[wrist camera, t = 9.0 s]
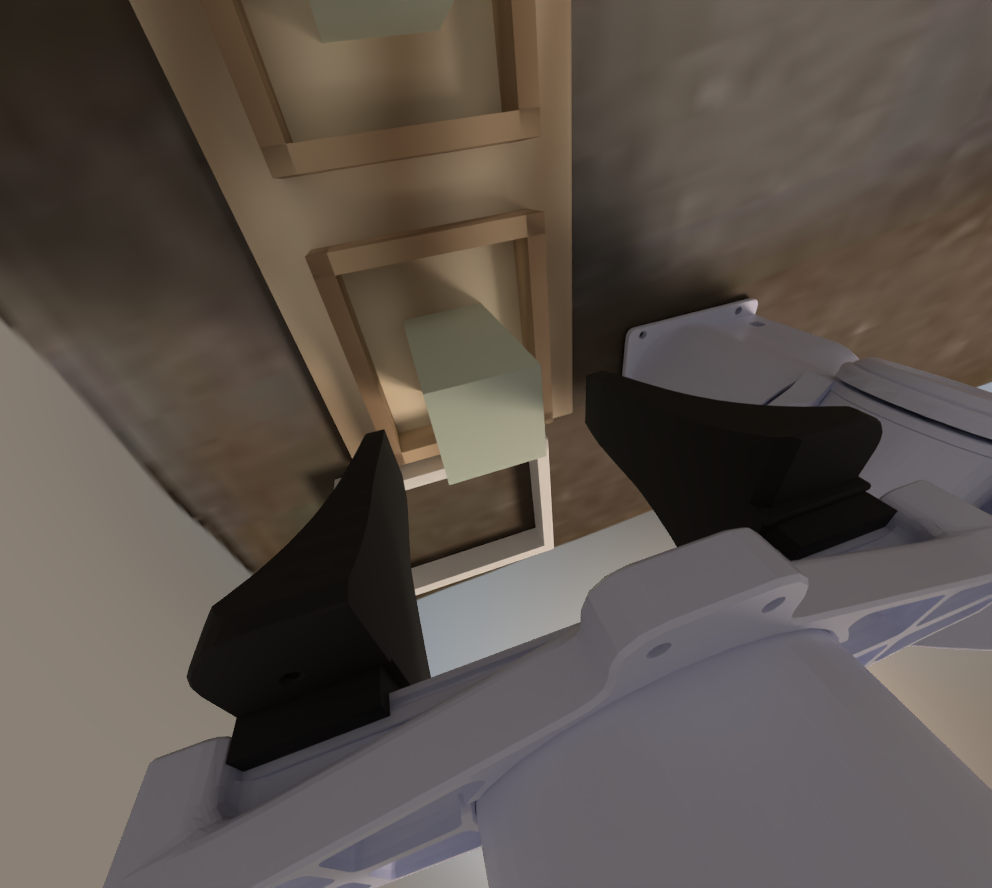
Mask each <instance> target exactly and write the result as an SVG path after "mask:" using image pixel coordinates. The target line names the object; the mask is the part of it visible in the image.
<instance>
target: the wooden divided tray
mask: <svg viewBox="0 0 992 888" xmlns="http://www.w3.org/2000/svg"><path fill="white" fill-rule="evenodd" d="M129 1H130V3H131V5H132V8H133V10H134V12H135V14H136V16H137V18H138V20H139V22H140V24H141V26H142V28H143V30H144V32H145V34H146V36H147V38H148V40H149V42H150V44H151V47H152V49H153V51H154V53H155V55H156V57H157V59H158V61H159V63H160V65H161V67H162V69H163V71H164V73H165V75H166V77H167V79H168V81H169V83H170V86H171V88H172V90H173V92H174V94H175V96H176V98H177V100H178V102H179V104H180V106H181V108H182V110H183V112H184V114H185V116H186V118H187V120H188V122H189V125H190V127H191V129H192V131H193V133H194V135H195V137H196V139H197V141H198V143H199V145H200V147H201V149H202V151H203V153H204V155H205V157H206V159H207V161H208V164H209V166H210V168H211V170H212V172H213V174H214V176H215V178H216V180H217V182H218V184H219V186H220V188H221V190H222V192H223V194H224V196H225V198H226V200H227V203H228V205H229V207H230V209H231V211H232V213H233V215H234V217H235V219H236V221H237V223H238V225H239V227H240V229H241V231H242V233H243V235H244V237H245V239H246V242H247V244H248V246H249V248H250V250H251V252H252V254H253V256H254V258H255V260H256V262H257V264H258V266H259V268H260V270H261V272H262V274H263V276H264V278H265V280H266V283H267V285H268V287H269V289H270V291H271V293H272V295H273V297H274V299H275V301H276V303H277V305H278V307H279V309H280V311H281V313H282V315H283V317H284V319H285V322H286V324H287V326H288V328H289V330H290V332H291V334H292V336H293V338H294V340H295V342H296V344H297V346H298V348H299V350H300V352H301V354H302V356H303V358H304V361H305V363H306V365H307V367H308V369H309V371H310V373H311V375H312V377H313V379H314V381H315V383H316V385H317V387H318V389H319V391H320V393H321V395H322V397H323V400H324V402H325V404H326V406H327V408H328V410H329V412H330V414H331V416H332V418H333V420H334V422H335V424H336V426H337V428H338V430H339V432H340V434H341V436H342V439H343V441H344V443H345V445H346V447H347V449H348V451H349V453H350V455H351V457H352V459H353V457H354V455H355V453H356V451H357V449H358V447H359V445H360V443H361V441H362V439H363V438H364V436H365V434H367V433H371V432H375V431H379V430H382V429H385V432H386V435H387V437H388V440H389V442H390V445H391V447H392V450H393V452H394V455H395V458H396V460H397V463H398V465H399V466H401V465H404V464H408V463H411V462H415V461H419V460H422V459H426V458H429V457H433V456H436V455H440V451H439V448H438V445H437V441H436V438H435V434H434V431H433V427H432V424H431V421H430V417H429V414H428V410H427V407H426V403H425V400H424V396H423V393H422V389H421V386H420V382H419V378H418V375H417V371H416V368H415V364H414V360H413V357H412V353H411V350H410V346H409V342H408V339H407V335H406V331H405V328H404V324H403V320H407V319H411V318H416V317H420V316H425V315H429V314H434V313H438V312H443V311H447V310H452V309H456V308H460V307H465V306H469V305H474V304H478V303H482V305H483V306H484V307H485V308H486V309H487V310H488V311H489V312H490V313H491V314H492V315H493V316H494V317H495V318H496V319H497V320H498V321H499V322H500V323H501V324H502V325H503V326H504V327H505V328H506V329H507V330H508V331H509V332H510V333H511V334H512V335H513V336H514V337H515V338H516V339H517V340H518V341H519V342H520V343H521V344H522V345H523V347H524V348H525V349H526V350H527V351H528V352H529V353H530V354H531V355H532V356H533V357H534V358H535V359H536V360H537V361H538V362H539V363H540V364H541V375H542V391H543V408H544V424H549V423H552V422H553V418H556V417H559V416H563V415H567V414H570V413H572V119H571V0H454V2H453V4H452V6H451V8H450V10H449V12H448V14H447V16H446V18H445V20H444V22H443V24H442V26H441V28H440V30H439V31H432V32H423V33H414V34H404V35H395V36H386V37H376V38H367V39H358V40H348V41H339V42H330V43H322V41H321V38H320V35H319V31H318V28H317V25H316V21H315V18H314V15H313V12H312V8H311V5H310V2H309V0H129Z"/></svg>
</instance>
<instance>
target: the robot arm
mask: <svg viewBox="0 0 992 888" xmlns="http://www.w3.org/2000/svg"><path fill="white" fill-rule="evenodd" d="M757 306H758V301H757V300H756V299H753V298H749V299H745V300H741V301H737V302H733V303H729V304H725V305H721V306H717V307H713V308H709V309H705V310H701V311H697V312H693V313H689V314H685V315H681V316H677V317H673V318H669V319H665V320H661V321H657V322H653V323H649V324H645V325H641V326H637V327H633V328H631V329H630V330H629V331H628V332H627V334H626V338H625V349H624V360H623V371H622V376H621V375H617V374H613V373H609V372H604V371H601V372H597V373H593V374H589V375H586V415H585V423H586V425H587V426H588V428H589V430H590V431H591V433H592V435H593V436H594V438H595V439H596V441H597V442H598V443H599V445H600V446H601V447H602V448H603V449H604V451H605V452H606V453H607V454H608V455H609V456H610V457H611V459H612V460H613V461H614V462H615V463H616V464H617V465H618V466H619V468H620V469H621V470H622V471H623V472H624V473H625V474H626V475H627V477H628V478H629V479H630V480H631V481H632V482H633V483H634V484H635V486H636V487H637V488H638V489H639V491H640V492H641V493H642V495H643V496H644V497H645V499H646V500H647V502H648V503H649V505H650V506H651V507H652V509H653V510H654V512H655V513H656V515H657V516H658V518H659V519H660V521H661V522H662V524H663V525H664V527H665V528H666V530H667V531H668V533H669V535H670V536H671V538H672V539H673V541H674V543H675V544H676V546H677V548H674V549H671V550H668V551H665V552H663V553H660V554H657V555H654V556H651V557H649V558H646V559H643V560H640V561H637V562H634V563H632V564H629V565H626V566H624V567H622V568H621V569H618V570H616V571H615V572H613V573H611V574H609V575H607V576H605V577H604V578H603V579H602V580H601V581H600V582H599V583H597V584H596V585H595V586H594V587H593V588H592V589H591V590H590V591H589V592H588V595H587V597H586V599H585V602H584V604H583V607H582V609H581V622H580V623H577V624H574V625H571V626H569V627H566V628H563V629H561V630H558V631H555V632H553V633H550V634H547V635H545V636H542V637H539V638H537V639H534V640H531V641H529V642H526V643H523V644H520V645H518V646H515V647H512V648H510V649H507V650H504V651H502V652H499V653H496V654H494V655H491V656H488V657H486V658H483V659H480V660H478V661H475V662H472V663H470V664H467V665H464V666H462V667H459V668H456V669H454V670H451V671H448V672H445V673H443V674H440V675H437V676H435V677H432V678H431V676H430V671H429V666H428V661H427V656H426V650H425V645H424V639H423V634H422V629H421V624H420V618H419V612H418V606H417V601H416V595H415V589H414V583H413V576H412V570H411V561H410V546H409V526H408V507H407V497H406V491H405V486H404V481H403V476H402V473H401V470H400V468H399V465H398V463H397V460H396V458H395V455H394V452H393V450H392V447H391V445H390V442H389V440H388V437H387V435H386V432H385V429H382V430H379V431H375V432H371V433H367V434H365V436H364V438H363V439H362V441H361V443H360V445H359V447H358V449H357V451H356V453H355V455H354V457H353V459H352V460H351V462H350V464H349V466H348V468H347V469H346V471H345V473H344V475H343V476H342V478H341V480H340V481H339V483H338V484H337V486H336V487H335V489H334V490H333V492H332V493H331V495H330V496H329V498H328V499H327V500H326V502H325V503H324V504H323V505H322V507H321V508H320V509H319V510H318V512H317V513H316V514H315V515H314V517H313V518H312V519H311V520H310V521H309V522H308V523H307V524H306V525H305V526H304V528H303V529H302V530H301V531H300V532H299V533H298V534H297V535H296V536H295V537H294V538H293V539H292V540H291V541H290V542H289V543H288V544H287V545H286V546H285V547H284V548H283V549H282V550H281V551H280V552H279V553H278V554H277V555H275V556H274V557H273V558H272V559H271V560H270V561H269V562H268V563H266V564H265V565H264V566H263V567H262V568H261V569H260V570H258V571H257V572H256V573H255V574H254V575H252V576H251V577H250V578H249V579H247V580H246V581H245V582H243V583H242V584H241V585H240V586H239V587H237V588H236V589H235V590H233V591H232V592H231V593H229V594H228V595H227V596H225V597H224V598H223V599H221V600H220V601H219V602H217V603H216V604H215V605H213V606H212V608H211V610H210V612H209V615H208V618H207V620H206V622H205V625H204V627H203V630H202V633H201V636H200V638H199V641H198V644H197V647H196V650H195V652H194V655H193V658H192V661H191V664H190V666H189V670H188V674H187V679H188V682H189V685H190V687H191V688H192V689H193V690H194V691H196V692H197V693H198V694H199V695H200V696H201V697H203V698H205V699H206V700H208V701H210V702H211V703H213V704H215V705H216V706H218V707H220V708H221V709H223V710H225V711H227V712H228V713H230V714H232V715H233V716H235V717H237V719H236V723H235V727H234V731H233V735H232V737H228V736H226V737H216V738H212V739H208V740H205V741H202V742H200V743H197V744H194V745H192V746H189V747H186V748H183V749H180V750H178V751H175V752H172V753H170V754H167V755H164V756H162V757H159V758H156V759H155V760H153V761H152V762H151V763H150V764H149V766H148V769H147V771H146V774H145V777H144V779H143V782H142V785H141V787H140V790H139V793H138V795H137V798H136V801H135V803H134V806H133V809H132V811H131V814H130V817H129V819H128V822H127V825H126V827H125V830H124V833H123V836H122V838H121V841H120V843H119V846H118V849H117V851H116V854H115V857H114V859H113V862H112V865H111V867H110V870H109V873H108V875H107V878H106V881H105V883H104V886H103V888H377V887H380V886H383V885H385V884H388V883H390V882H393V881H396V880H398V879H400V878H403V877H406V876H409V875H411V874H414V873H416V872H419V871H421V870H424V869H427V868H429V867H432V866H434V865H437V864H440V863H442V862H445V861H447V860H450V859H453V858H455V857H458V856H460V855H463V854H466V853H468V852H471V851H473V850H476V849H478V848H481V847H482V850H483V856H484V862H485V867H486V873H487V879H488V885H489V888H992V790H991V789H990V788H989V787H988V786H987V785H986V784H985V783H984V782H983V781H982V780H981V779H980V778H979V777H978V776H977V775H976V774H974V772H972V770H971V769H970V768H968V767H967V766H966V765H965V764H964V763H963V762H962V761H961V760H960V759H959V758H958V757H957V756H956V755H955V754H954V753H953V752H952V751H951V750H950V749H949V748H948V747H947V746H946V745H945V744H944V743H943V742H942V741H941V740H940V739H938V738H937V737H936V736H935V735H934V734H933V733H932V732H931V731H930V730H929V729H928V728H927V727H926V726H925V725H924V724H923V723H922V722H921V721H920V720H919V719H918V718H917V717H916V716H915V715H914V714H913V713H912V712H911V711H909V709H907V707H905V706H904V705H903V704H902V703H901V702H900V701H899V700H898V699H897V698H896V697H895V696H894V695H893V694H892V693H891V692H890V691H889V690H888V689H887V688H886V687H885V686H884V685H883V684H882V683H881V682H880V681H879V680H878V679H877V678H876V677H875V676H873V675H872V674H871V673H870V672H869V671H868V670H867V669H866V668H867V667H869V666H871V665H873V664H875V663H877V662H879V661H881V660H883V659H885V658H886V657H889V656H890V655H892V654H894V653H896V652H898V651H900V650H902V649H904V648H906V647H908V646H917V647H918V646H919V647H930V648H945V649H964V650H984V651H992V393H991V392H988V391H984V390H982V389H979V388H976V387H973V386H970V385H966V384H963V383H960V382H957V381H954V380H951V379H948V378H945V377H941V376H938V375H935V374H932V373H928V372H925V371H922V370H919V369H915V368H912V367H908V366H905V365H901V364H898V363H894V362H891V361H887V360H883V359H879V358H874V357H868V358H864V359H861V360H859V358H858V357H857V356H856V355H855V354H854V353H853V352H851V351H850V350H849V349H848V348H846V347H845V346H843V345H841V344H839V343H837V342H834V341H832V340H829V339H826V338H823V337H820V336H817V335H814V334H811V333H808V332H805V331H802V330H799V329H796V328H793V327H790V326H787V325H784V324H781V323H778V322H775V321H772V320H769V319H766V318H763V317H760V316H757V315H755V313H756V309H757ZM736 309H737V310H736ZM641 332H643V334H642V335H641V336H640V337H639V335H640V333H641Z"/></svg>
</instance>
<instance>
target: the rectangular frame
mask: <svg viewBox="0 0 992 888" xmlns="http://www.w3.org/2000/svg"><path fill="white" fill-rule="evenodd" d="M545 441H546V456H545V457H542V458H538V459H535V460H532V461H529V466H530V477H531V487H532V497H533V507H534V517H535V527H536V528H533V529H530V530H527V531H524V532H521V533H518V534H515V535H512V536H508V537H505V538H502V539H499V540H496V541H493V542H490V543H487V544H484V545H481V546H478V547H475V548H472V549H469V550H466V551H463V552H460V553H457V554H454V555H451V556H448V557H445V558H441V559H438V560H435V561H432V562H429V563H426V564H423V565H420V566H417V567H414V568H411V570H412V576H413V583H414V589H415V595H419V594H421V593H424V592H427V591H430V590H433V589H436V588H439V587H442V586H445V585H448V584H451V583H454V582H457V581H460V580H463V579H466V578H469V577H471V576H474V575H477V574H480V573H483V572H486V571H489V570H492V569H495V568H498V567H501V566H504V565H507V564H510V563H513V562H516V561H519V560H521V559H524V558H527V557H530V556H533V555H536V554H539V553H542V552H545V551H548V550H551V549H554V541H553V523H552V505H551V487H550V468H549V450H548V438H547V437H546V435H545ZM399 468H400V470H401V473H402V476H403V481H404V486H405V490H408V489H412V488H415V487H419V486H422V485H425V484H429V483H432V482H435V481H439V480H442V479H446V478H447V476H446V472H445V469H444V465H443V462H442V458H441V455H436V456H433V457H429V458H426V459H422V460H419V461H415V462H411V463H408V464H404V465H401V466H399ZM340 480H341V478H338V479H335V482H334V489H335V487H336V486H337V484H338V483H339V481H340Z"/></svg>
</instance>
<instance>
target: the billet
mask: <svg viewBox="0 0 992 888" xmlns="http://www.w3.org/2000/svg"><path fill="white" fill-rule="evenodd" d="M403 324H404V328H405V331H406V335H407V339H408V342H409V346H410V350H411V353H412V357H413V360H414V364H415V368H416V371H417V375H418V378H419V382H420V386H421V389H422V393H423V396H424V400H425V403H426V407H427V410H428V414H429V417H430V421H431V424H432V427H433V431H434V434H435V438H436V441H437V445H438V448H439V451H440V455H441V458H442V462H443V465H444V469H445V472H446V476H447V479H448V482H449V485H451V484H455V483H458V482H461V481H465V480H468V479H471V478H475V477H478V476H482V475H485V474H488V473H492V472H495V471H498V470H502V469H505V468H508V467H512V466H515V465H518V464H522V463H525V462H528V461H532V460H535V459H538V458H542V457H545V456H546V441H545V424H544V408H543V391H542V375H541V364H540V363H539V362H538V361H537V360H536V359H535V358H534V357H533V356H532V355H531V354H530V353H529V352H528V351H527V350H526V349H525V348H524V347H523V345H522V344H521V343H520V342H519V341H518V340H517V339H516V338H515V337H514V336H513V335H512V334H511V333H510V332H509V331H508V330H507V329H506V328H505V327H504V326H503V325H502V324H501V323H500V322H499V321H498V320H497V319H496V318H495V317H494V316H493V315H492V314H491V313H490V312H489V311H488V310H487V309H486V308H485V307H484V306H483V305H482V303H478V304H474V305H469V306H465V307H460V308H456V309H452V310H447V311H443V312H438V313H434V314H429V315H425V316H420V317H416V318H411V319H407V320H403Z"/></svg>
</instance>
